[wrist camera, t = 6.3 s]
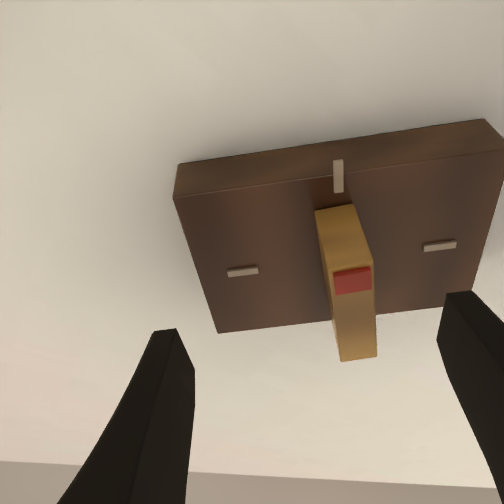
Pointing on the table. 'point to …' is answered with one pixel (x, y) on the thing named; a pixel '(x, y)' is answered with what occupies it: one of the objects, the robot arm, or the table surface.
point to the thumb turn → (348, 281)
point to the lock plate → (332, 195)
